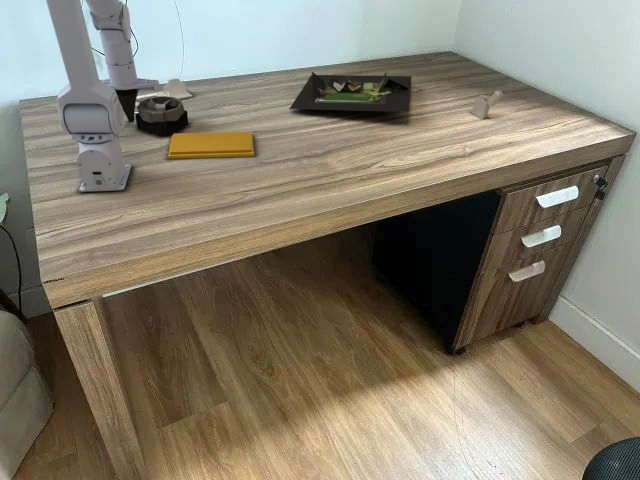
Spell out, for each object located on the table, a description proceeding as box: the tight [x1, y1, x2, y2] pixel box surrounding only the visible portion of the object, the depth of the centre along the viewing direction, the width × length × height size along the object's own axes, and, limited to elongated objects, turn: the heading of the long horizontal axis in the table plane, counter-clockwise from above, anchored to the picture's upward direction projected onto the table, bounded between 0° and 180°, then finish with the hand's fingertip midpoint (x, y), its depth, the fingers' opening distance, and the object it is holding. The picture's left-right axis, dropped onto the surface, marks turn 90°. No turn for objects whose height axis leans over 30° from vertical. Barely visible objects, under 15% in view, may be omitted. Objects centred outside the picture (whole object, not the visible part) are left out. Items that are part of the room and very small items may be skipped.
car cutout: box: [135, 78, 194, 108], centre depth 129 cm, size 15×7×4 cm, turn 126°
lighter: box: [471, 89, 504, 120], centre depth 127 cm, size 7×2×8 cm, turn 31°
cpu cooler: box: [134, 96, 190, 137], centre depth 114 cm, size 10×6×10 cm
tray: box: [167, 131, 255, 160], centre depth 108 cm, size 10×18×1 cm, turn 99°
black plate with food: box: [289, 71, 413, 113], centre depth 134 cm, size 30×8×30 cm
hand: (131, 120), depth 114 cm, fingers closed
